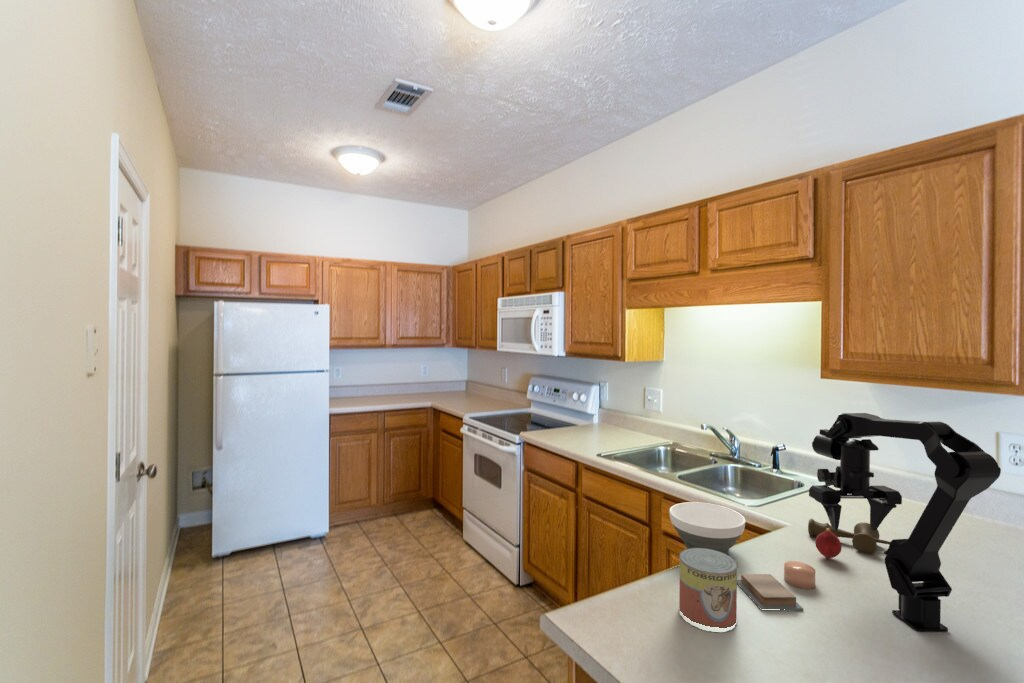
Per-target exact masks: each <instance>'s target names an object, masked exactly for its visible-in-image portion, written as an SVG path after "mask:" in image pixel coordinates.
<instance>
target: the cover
mask: <svg viewBox="0 0 1024 683" xmlns="http://www.w3.org/2000/svg"><path fill="white" fill-rule="evenodd" d="M740 577H741V578H740V580H741V582H742V583H743V584H744V585H745V586H746V587H747V588H748V589H749V590H750V591H751V592H752V594H753V595H754V596H755V597H756V598H757V599H758V600H759V601H760V602H761V603H762V604H763V605H764V606H796V602H797V596H796V595H794V594H793V592H791V591H790V590H789V589H787V587H785V586H784V585H783V584H782V583H781V582H780V581H779V580H778V579H776V577H774V576H773V575H772V574H771V573H762V574H761V573H757V574H755V573H743V574H741V575H740Z"/></svg>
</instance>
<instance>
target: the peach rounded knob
mask: <svg viewBox="0 0 1024 683" xmlns="http://www.w3.org/2000/svg"><path fill="white" fill-rule="evenodd" d="M783 580H784V581H785V582H786V583H787V584H788V585H790V586H793V587H796V588H798V589H803V590H808V589H809V590H811V589H814V588H815V587H816V569H815V568H814V567H813V566H811V565H809V564H808V563H806V562H805V563H804V562H801V561H796V560H787V561H785V562H784V563H783Z"/></svg>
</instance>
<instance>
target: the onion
mask: <svg viewBox="0 0 1024 683" xmlns="http://www.w3.org/2000/svg"><path fill="white" fill-rule="evenodd" d="M814 544H815V548H816V549H817V551H818V552H819V554H820V555H822V556H823V557H825V559H828V560H829V559H832V558H835V557H838V556H839V555H840V553H842V550H843V549H842V548H843V547H842V542H841V540H840V538H839V537H837V536H836V535H835V534H833V533H832V532H831V531H830V529H829V528H827V529H826V531H825V532H822V533H820V534H819V535H816V538H815V542H814Z"/></svg>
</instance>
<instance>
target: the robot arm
mask: <svg viewBox="0 0 1024 683" xmlns="http://www.w3.org/2000/svg"><path fill="white" fill-rule="evenodd" d="M873 437H887V438H896V439H897V438H898V439H905V440H914V441H915V440H916V441H919V442H920V443H921V444H922V445H923V447H924V451H925V453H926V457H927V458H928V459H929V460H930V462H931V463H932V464H933V465H934V466H935V469H934V478H935V482H936V485H937V486H936V488H935V490H934V492H933V493H932V495H931V497H930V499H929V501H928V503H927V504H926V506H925V508H924V510H923V511H922V513H921V515H920V516H919V519H918V521H917V522H916V524H915V525H914V527H913V530H912V531H911V532H910V535H909V537H908V538H897V539H896V538H895V539H891V540H890V541H889V542H890V545H889V544H888V545H889V546H888V548H887V549H886V551H884V552H883V554H884V555H885V557H884V564H885V568H886V572H887V575H888V581H889V583H890V587H891V588H892V589H893V590H894V591H896V592H897V594H898V609H897V610H896V609H892V610H891V613H892V614H893V615H894V616H896V617H897V618H898V619H900V620H901V621H903V622H904V623H905V624H906V625H908V626H909V627H911V628H912V629H913V630H915V631H917V632H948V630H949V627H947V626H945V625H944V624H943V623H941V612H942V611H941V604H942V603H941V602H942V600H941V599H940V598H941V597H945V598H946V597H947V598H948V597H950V594H951V593H952V591H953V589H952V586H951V585H950V584H949V582H948V581H947V579H946V578H945V577H944V575H943V574H942V572H941V571H940V568H941V565H942V561H941V557H940V554H939V552H940V550H941V548H942V546H943V545H944V543H945V542H946V540H947V538H948V537H949V535H950V533H951V532H952V530H953V528H954V527H955V525H956V524H957V522H958V520H959V518H960V516H961V515H962V514H963V512H964V511H965V508H966V507H967V505H968V503H969V502H970V500H972V498H974V497H976V496H978V495H980V494H982V493H983V492H984V491H986V490H988V489H989V488H990V487H991V486H992V485H993V484H994V483H995V482H997V480H998V479H999V478H1000V476H1001V473H1002V470H1001V469H1002V468H1001V467H1000V466H999V463H998V462H997V460H996V459H995V458H994V457H993V456H992V455H991V454H989V453H987V452H985V451H984V450H983V449H982V448H981V447H980V446H979V445H978V444H977V443H975V442H974V441H972V440H970V439H968V438H966V437H965V436H963V435H962V434H960V433H958V432H957V431H955V429H953V428H952V427H951V426H950V425H949V424H947V423H946V422H945V423H944V422H943V421H919V420H918V421H917V420H901V419H886V418H881V417H880V416H878V415H875V414H872V413H867V412H849V413H848V412H846V413H839V414H838V416H837V417H836V420H835V421H834V422H833V424H832V425H831V427H830V428H829V429H827V428H825V429H823V428H821V429H819V433H818V434H817V435H816V436H814V438H813V441H812V442H811V447H812V449H813V451H814V452H815V453H816V454H818V455H820V456H823V457H826V458H829V459H833V460H835V461H840V463H839V464H840V465H839V466H838V465H837V466H836V467H835V471H830V470H829V469H828V468H817V472H816V477H817V481H818V482H819V483H824V484H823V485H819V484H818V485H815V484H814V485H811V486H810V487H809V489H808V497H810V498H812V499H814V500H815V501H816V502H818V503H819V504H821V506H822V508H824V511H825V513H826V515H827V518H828V521H829V524H830V525H831V526H832V528H833V530H835V531H837V530H838V529H839V526H840V520H841V512H842V505H841V504H839V503H840V502H842V501H841V500H842V499H861V500H863V499H865V500H867V502H868V504H869V524H870V526H871V530H873V531H876V530H878V528H879V526H880V525H881V524H882V522H883V521H884V520H885V518H886V517H887V516H888V515H889V514H890V512H891V511H892V510H893V509H896V508H897V505H903V496H902V494H901V493H900V491H899V490H896V489H894V488H891V487H888V486H886V485H870V482H871V480H870V478H874V477H875V473H874V472H873V471H871V469H870V468H871V466H870V465H871V451H874V452H875V451H879V450H880V448H879V447H878V446H877V445H876V444H875V443H874V442H873V441H872V440H871V439H870V438H873ZM862 438H866V439H862ZM867 438H868V439H867ZM943 446H945V447H946V448H948V449H950V450H951V451H948V450H947V449H945V447H943ZM831 486H833V488H832V487H831ZM834 488H836V489H834Z"/></svg>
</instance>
